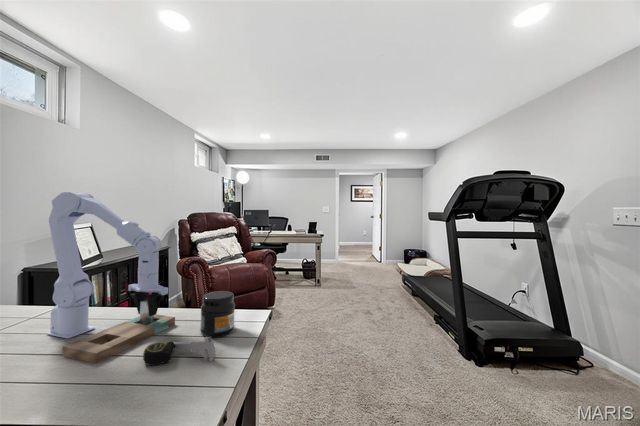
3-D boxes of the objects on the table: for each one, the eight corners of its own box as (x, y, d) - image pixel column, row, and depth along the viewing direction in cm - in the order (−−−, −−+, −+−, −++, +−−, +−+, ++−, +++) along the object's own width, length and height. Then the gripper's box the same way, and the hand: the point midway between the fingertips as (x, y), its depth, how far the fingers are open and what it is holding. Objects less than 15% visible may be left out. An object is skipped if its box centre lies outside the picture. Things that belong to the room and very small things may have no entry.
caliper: (214, 361, 74) (215, 337, 74) (211, 363, 73) (212, 338, 73) (157, 346, 81) (158, 324, 81) (154, 347, 80) (154, 325, 80)
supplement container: (239, 333, 91) (240, 296, 91) (205, 341, 84) (206, 302, 84) (228, 322, 99) (228, 288, 99) (196, 329, 93) (197, 293, 93)
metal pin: (136, 325, 91) (137, 301, 91) (147, 321, 95) (147, 297, 95) (146, 327, 90) (146, 302, 90) (156, 322, 94) (157, 298, 94)
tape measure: (170, 365, 71) (170, 351, 71) (139, 369, 69) (139, 354, 69) (175, 352, 78) (175, 339, 78) (147, 356, 76) (147, 342, 76)
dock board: (62, 355, 74) (62, 346, 74) (147, 320, 99) (147, 312, 99) (96, 363, 71) (96, 353, 71) (174, 324, 96) (175, 317, 96)
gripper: (119, 273, 91) (119, 315, 91) (155, 277, 87) (154, 321, 87) (139, 269, 97) (138, 308, 97) (173, 273, 93) (172, 313, 93)
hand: (147, 314), depth 93 cm, fingers closed on metal pin, 4 cm apart
